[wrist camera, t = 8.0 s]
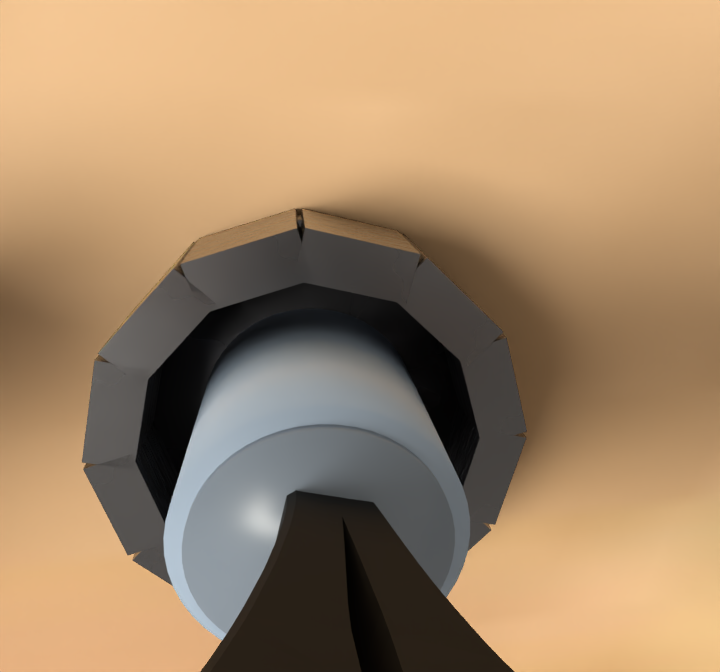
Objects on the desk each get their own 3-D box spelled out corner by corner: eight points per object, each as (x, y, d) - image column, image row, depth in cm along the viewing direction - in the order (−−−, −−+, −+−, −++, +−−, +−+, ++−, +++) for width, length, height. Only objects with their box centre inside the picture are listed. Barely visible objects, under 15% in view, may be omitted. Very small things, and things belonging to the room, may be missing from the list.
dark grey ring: (430, 567, 17) (452, 641, 15) (99, 522, 16) (65, 596, 13) (531, 261, 15) (579, 290, 12) (148, 172, 13) (117, 185, 11)
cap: (381, 510, 16) (423, 688, 11) (187, 478, 15) (137, 654, 10) (438, 333, 14) (515, 445, 9) (227, 285, 13) (192, 381, 9)
